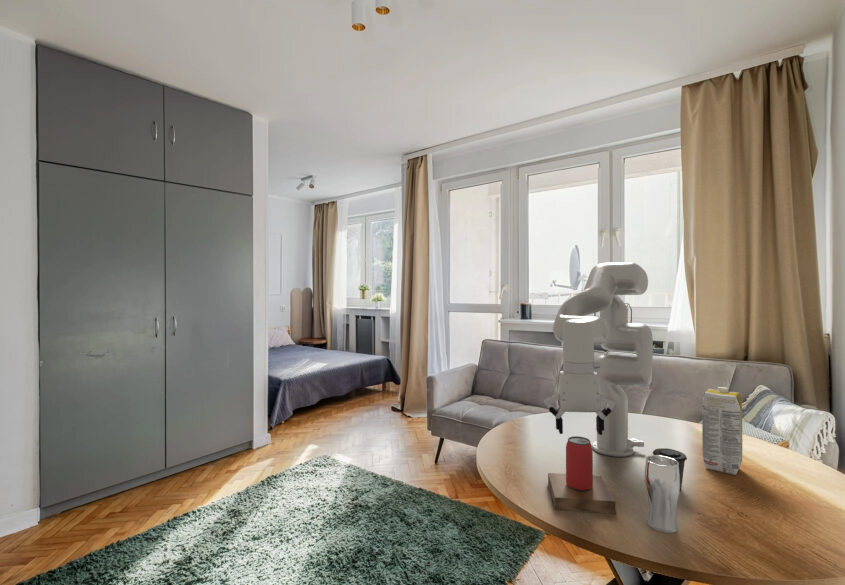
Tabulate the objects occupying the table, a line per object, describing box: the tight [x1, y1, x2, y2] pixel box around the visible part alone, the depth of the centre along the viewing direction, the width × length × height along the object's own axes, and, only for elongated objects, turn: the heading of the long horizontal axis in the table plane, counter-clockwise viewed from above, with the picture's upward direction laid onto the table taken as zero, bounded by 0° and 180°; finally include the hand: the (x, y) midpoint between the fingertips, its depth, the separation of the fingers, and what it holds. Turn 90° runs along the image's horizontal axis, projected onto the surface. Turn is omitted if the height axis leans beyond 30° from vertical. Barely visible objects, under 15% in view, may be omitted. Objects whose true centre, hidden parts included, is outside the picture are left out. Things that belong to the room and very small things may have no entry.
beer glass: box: [644, 454, 680, 534], centre depth 98 cm, size 7×7×15 cm
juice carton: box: [701, 386, 743, 476], centre depth 127 cm, size 9×8×24 cm
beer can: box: [565, 435, 594, 491], centre depth 111 cm, size 7×7×12 cm
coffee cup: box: [652, 448, 688, 493], centre depth 116 cm, size 8×8×10 cm
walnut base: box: [547, 472, 617, 515], centre depth 111 cm, size 14×14×3 cm
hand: (579, 432), depth 112 cm, fingers open, 9 cm apart
